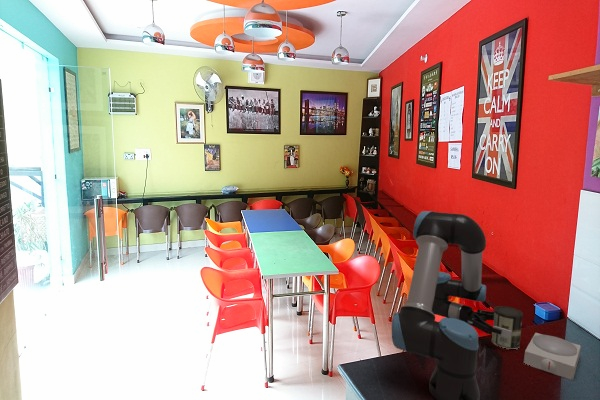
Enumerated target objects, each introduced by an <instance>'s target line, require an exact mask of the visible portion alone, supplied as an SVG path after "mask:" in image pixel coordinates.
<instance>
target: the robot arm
mask: <svg viewBox="0 0 600 400" xmlns="http://www.w3.org/2000/svg"><path fill="white" fill-rule="evenodd" d="M412 235H413V238H414V240H415V243H416V244H417V246H418V249H417V252H416V253H417V254H416V260H415V262H414V267H413V272H412V275H411V276H412V277H411V281H410V285H409V289H408V290H409V291H408V295H407V300H406V303H405V304H404V305H402V306H401V307H400V309H399V312H398V311H397V312H394V313H393V316H392V320H391V341H392V344H393V346H394V347H395V348H396V349H398V350H402V351H404V352H406V353H408V352H409V353H412V354H416V355H419V356H421V357H422V356H423V357H425V358H430V359H434V360H436V364H435V365H436V366H435V368H434V371H433V372H432V374H431V376H430V378H429V381H428V382H429V383H428V390H429V392H430V394H431V395H432V397H433V398H435V400H480V397H481V393H480V392H481V391H480V388H479V384H478V381H477V376H476V370H477V362H478V350H479V347H480V345H479V333H478V332H477V330H476V329H478V330H479V331H481V332H483V333H485V334H487V335H491V336H492V333H496V334H499V335H502V336H505V337H509V338H511V335H512V331H510V330H507V329H504V328H500V327H497V326H493V325H491V324H490V323H488V322H487V321H494V311H491V310H483V309H476V310H477V311H474V310H473V307H472V306H469V305H465V304H462V303H458V302H455V301H451V300H450V297H454V298H459V299H464V300H469V301H473V302H479V303H484V302H485V301H486V297H487V295H486V294H487V285H485V284H482V275H483V273H482V270H483V252H484V251H485V249H486V248H487V240H486V235H485V233H484V231H483V229H482V227H481V226H480V225H479V223H478V222H476V220H475V219H473V218H471V217H470V216H468V215H465V214H463V213H452V212H451V213H450V212H442V211H441V212H439V211H438V212H437V211H435V210H430V211H428V210H424V211H421V212H420V213H419V214H417V216H416V219H415V221H414V225H413V234H412ZM449 245H456V246H458V248H459V250H460V251H461V253H460V254H461V280H460V279H453V278H452V277H451V274H450V273H448V272H444V271H440V269H441V268H440V267H441V263H442V258H443V252H444V251H446V250H448V248H449ZM436 316H441V317H443V318H441V319H440V320H439V321H436ZM475 328H476V329H475Z"/></svg>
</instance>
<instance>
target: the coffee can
mask: <svg viewBox="0 0 600 400" xmlns="http://www.w3.org/2000/svg"><path fill="white" fill-rule="evenodd" d="M493 310H494V311H493V312H494V320H493V323H492V327H493V326H497V327H500V328H504V329H507V330H510V331H512V335H511V338H509V337H505V336H502V335H499V334H496V333H493V332H492V335H491V336H492V337H491V343H492V344H493V345H495V346H496V347H498V346H499V347H498V348H501V347H502V348H501V349H504V348H506V349H505V350H509V349H516V350H519V349H520V348H521V347H520V345H521V333H522V324H523V316H524V313H523V312H522V311H521V310H520V309H518V308H514V307H510V306H505V305H498V306H494V308H493ZM518 348H519V349H518Z"/></svg>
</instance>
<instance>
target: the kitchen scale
mask: <svg viewBox="0 0 600 400" xmlns="http://www.w3.org/2000/svg"><path fill="white" fill-rule="evenodd" d="M580 355H581V345H580V344H577V343H573V342H570V341H568V340H566V339H563V338H561V337H558V336H553V335H548V334H541V333H538V332H535V333H534V335H533V336H532V337H531V340H530V342H529V343H528V345H527V347H526V349H525V351H524V358H523V364H524V363H525V364H524V365H526V364H527V365H526V366H529V365H530V366H529V367H532V368H535V369H538V370H541V371H544V372H547V373H550V374H553V375H556V376H559V377H562V378H564V379H567V380H570V381H574V379H575V378H574V377H575V375H576V371H577V367H578V363H579V359H580Z"/></svg>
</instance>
